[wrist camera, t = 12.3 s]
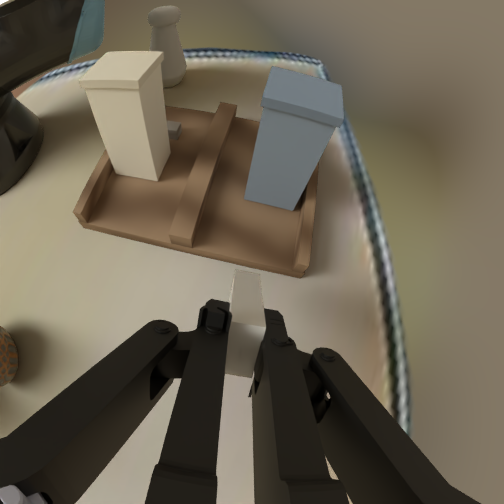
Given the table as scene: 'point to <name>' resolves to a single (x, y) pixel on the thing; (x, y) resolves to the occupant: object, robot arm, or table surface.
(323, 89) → the blue-grey rectangular block
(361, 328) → the table surface
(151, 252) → the table surface
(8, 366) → the vase
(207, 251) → the wooden divided tray
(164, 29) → the salt shaker
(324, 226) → the table surface
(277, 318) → the robot arm
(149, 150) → the cream tall block
